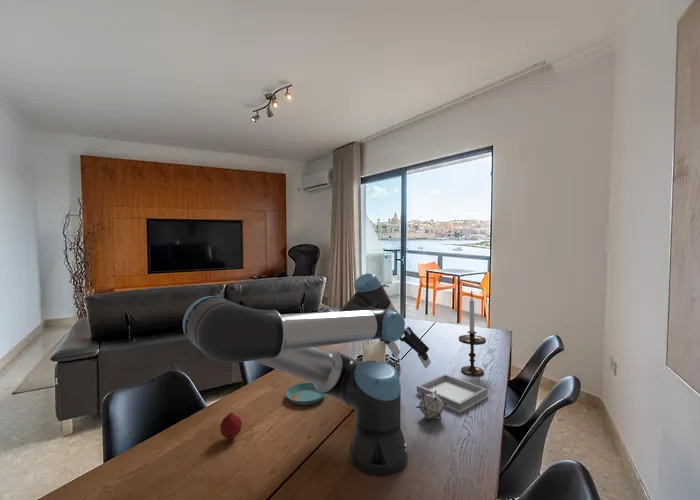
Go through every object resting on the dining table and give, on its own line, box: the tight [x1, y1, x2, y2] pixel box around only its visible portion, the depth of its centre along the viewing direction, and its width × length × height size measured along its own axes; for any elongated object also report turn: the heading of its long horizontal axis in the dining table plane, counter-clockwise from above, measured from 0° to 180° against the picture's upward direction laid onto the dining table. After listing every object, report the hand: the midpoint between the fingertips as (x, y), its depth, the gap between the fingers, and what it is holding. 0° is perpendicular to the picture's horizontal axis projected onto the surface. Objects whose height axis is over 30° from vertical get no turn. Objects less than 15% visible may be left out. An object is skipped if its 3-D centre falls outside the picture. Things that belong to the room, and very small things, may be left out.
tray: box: [416, 373, 488, 414], centre depth 122 cm, size 17×18×3 cm
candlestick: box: [458, 289, 487, 377], centre depth 142 cm, size 11×11×35 cm
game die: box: [415, 390, 447, 423], centre depth 106 cm, size 9×8×10 cm
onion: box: [219, 410, 243, 440], centre depth 97 cm, size 6×6×8 cm
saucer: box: [285, 382, 326, 406], centre depth 122 cm, size 15×15×3 cm
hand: (412, 359), depth 116 cm, fingers open, 13 cm apart
